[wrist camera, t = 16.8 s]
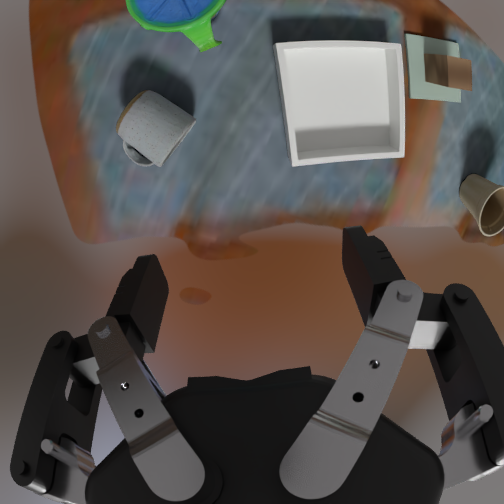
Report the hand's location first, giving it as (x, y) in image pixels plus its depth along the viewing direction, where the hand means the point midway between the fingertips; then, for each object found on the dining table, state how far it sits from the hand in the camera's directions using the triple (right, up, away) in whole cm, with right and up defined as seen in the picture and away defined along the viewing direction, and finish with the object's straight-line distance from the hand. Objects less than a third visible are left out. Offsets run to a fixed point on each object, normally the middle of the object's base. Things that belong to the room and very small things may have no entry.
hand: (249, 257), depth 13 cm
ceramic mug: (-13, +17, +25) cm, 33 cm away
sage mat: (+27, +27, +18) cm, 42 cm away
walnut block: (+27, +27, +18) cm, 42 cm away
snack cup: (-7, +32, +14) cm, 36 cm away
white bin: (+12, +21, +22) cm, 33 cm away
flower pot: (+40, +12, +30) cm, 51 cm away
